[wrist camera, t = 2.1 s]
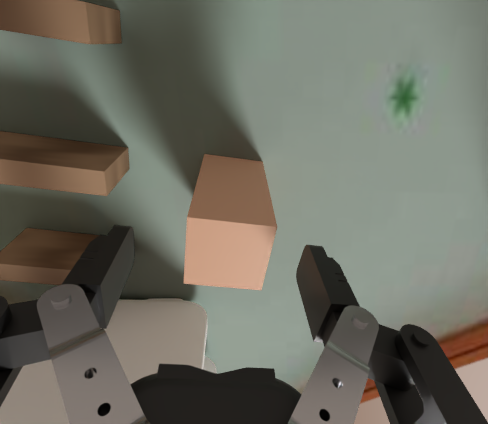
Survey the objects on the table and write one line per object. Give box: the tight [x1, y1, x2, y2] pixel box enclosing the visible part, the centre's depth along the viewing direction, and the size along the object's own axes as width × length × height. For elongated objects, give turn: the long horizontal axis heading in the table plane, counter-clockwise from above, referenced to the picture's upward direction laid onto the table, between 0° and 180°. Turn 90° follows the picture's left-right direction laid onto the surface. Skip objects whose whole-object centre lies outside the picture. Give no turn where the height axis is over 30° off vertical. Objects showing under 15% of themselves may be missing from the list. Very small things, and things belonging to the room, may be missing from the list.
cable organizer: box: [0, 298, 217, 424], centre depth 24 cm, size 15×11×12 cm
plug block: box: [184, 154, 277, 290], centre depth 17 cm, size 4×4×8 cm
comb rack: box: [0, 0, 129, 285], centre depth 17 cm, size 8×16×4 cm, turn 171°
